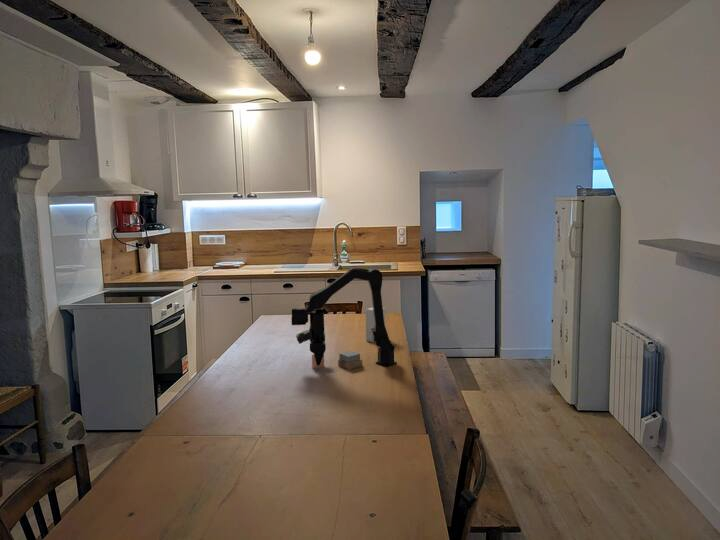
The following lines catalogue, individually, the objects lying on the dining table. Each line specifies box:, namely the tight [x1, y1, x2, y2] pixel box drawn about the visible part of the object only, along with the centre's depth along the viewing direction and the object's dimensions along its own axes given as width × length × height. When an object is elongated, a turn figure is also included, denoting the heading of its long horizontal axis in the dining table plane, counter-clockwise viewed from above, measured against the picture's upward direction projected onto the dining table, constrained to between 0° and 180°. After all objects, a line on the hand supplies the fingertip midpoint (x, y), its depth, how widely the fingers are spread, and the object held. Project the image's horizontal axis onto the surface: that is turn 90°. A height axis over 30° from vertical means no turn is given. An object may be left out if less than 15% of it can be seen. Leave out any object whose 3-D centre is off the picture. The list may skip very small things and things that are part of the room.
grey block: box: [339, 350, 361, 363], centre depth 220 cm, size 6×6×2 cm
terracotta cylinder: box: [311, 353, 325, 370], centre depth 220 cm, size 5×5×5 cm
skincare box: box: [365, 307, 386, 343], centre depth 259 cm, size 8×7×16 cm
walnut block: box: [337, 358, 363, 371], centre depth 221 cm, size 7×7×3 cm
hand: (318, 361), depth 220 cm, fingers open, 9 cm apart
